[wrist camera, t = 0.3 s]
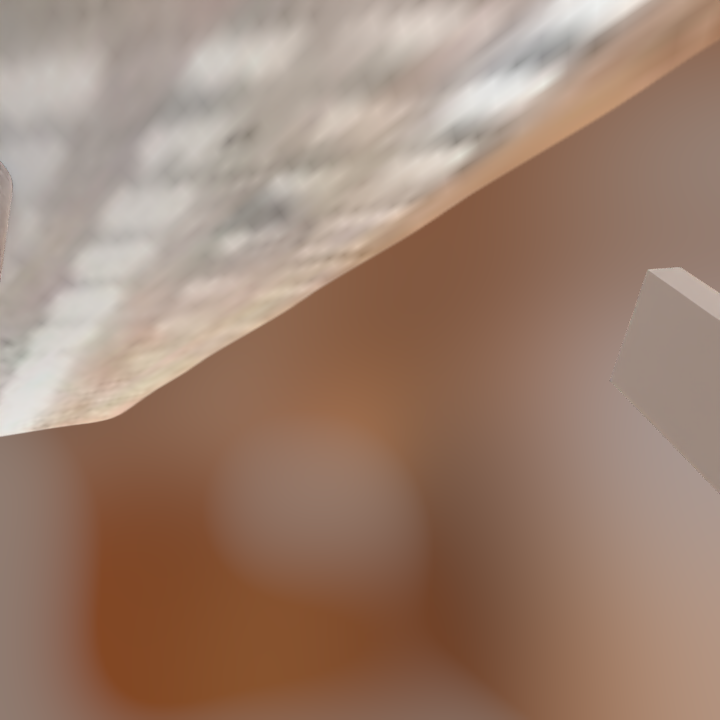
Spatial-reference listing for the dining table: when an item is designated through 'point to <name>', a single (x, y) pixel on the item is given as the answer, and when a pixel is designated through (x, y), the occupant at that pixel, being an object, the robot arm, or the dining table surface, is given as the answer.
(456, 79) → the dining table surface
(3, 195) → the bushing
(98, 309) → the dining table surface
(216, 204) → the dining table surface
